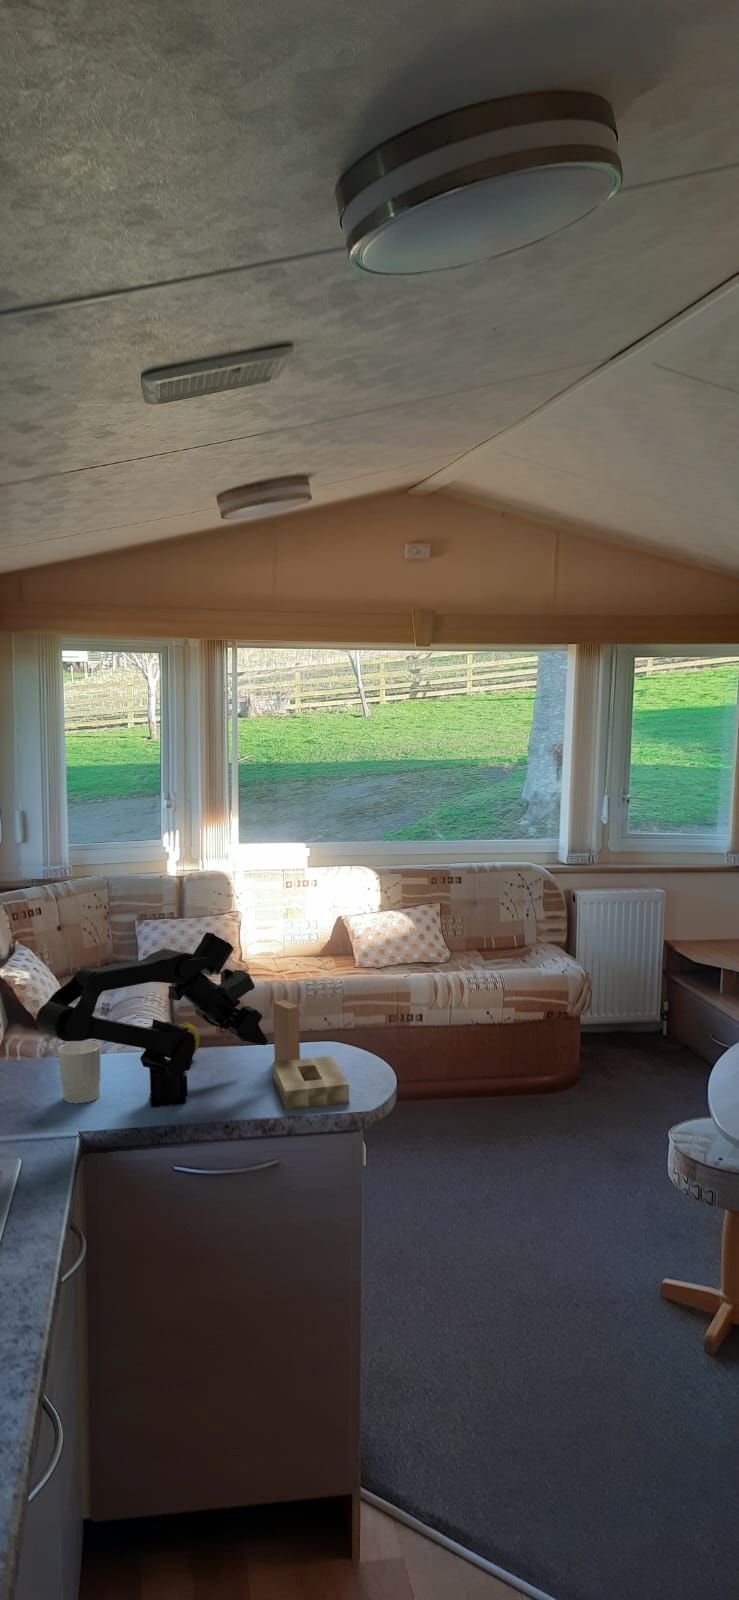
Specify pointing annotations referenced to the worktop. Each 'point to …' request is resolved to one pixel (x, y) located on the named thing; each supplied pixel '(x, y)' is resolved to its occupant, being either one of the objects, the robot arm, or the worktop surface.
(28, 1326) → the worktop surface
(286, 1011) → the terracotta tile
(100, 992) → the robot arm
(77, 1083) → the white cup
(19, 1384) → the worktop surface
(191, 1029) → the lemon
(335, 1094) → the pine slot box
